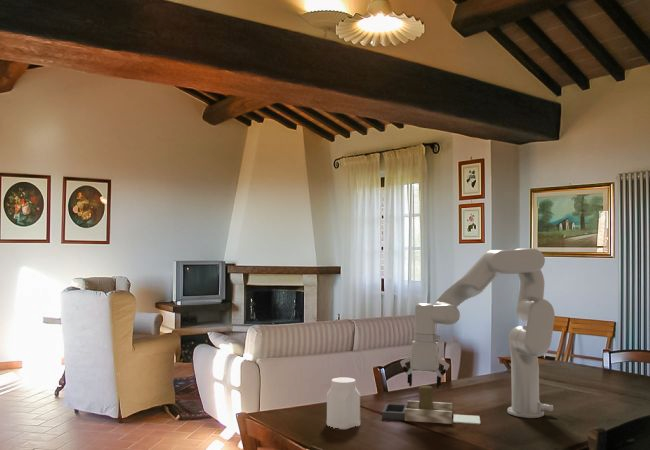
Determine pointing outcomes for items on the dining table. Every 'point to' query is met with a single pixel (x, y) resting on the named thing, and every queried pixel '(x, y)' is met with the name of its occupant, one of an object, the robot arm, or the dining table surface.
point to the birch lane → (429, 413)
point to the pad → (466, 419)
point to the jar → (343, 404)
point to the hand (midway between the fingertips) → (424, 386)
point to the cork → (426, 397)
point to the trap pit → (394, 411)
